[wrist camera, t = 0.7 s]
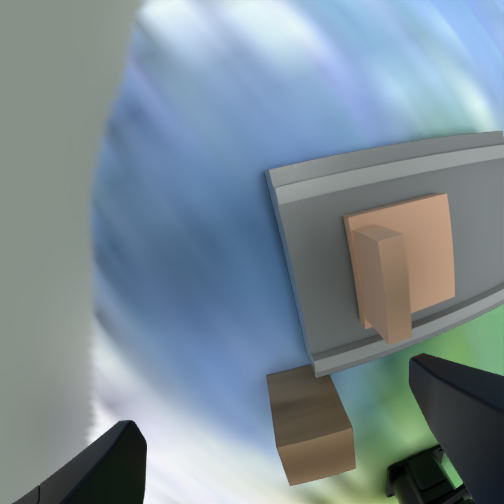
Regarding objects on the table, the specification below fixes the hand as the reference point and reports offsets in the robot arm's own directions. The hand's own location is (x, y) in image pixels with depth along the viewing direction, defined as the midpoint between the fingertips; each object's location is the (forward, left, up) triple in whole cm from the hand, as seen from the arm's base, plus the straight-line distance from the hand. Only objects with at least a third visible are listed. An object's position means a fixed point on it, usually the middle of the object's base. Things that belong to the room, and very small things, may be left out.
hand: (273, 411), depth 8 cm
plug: (-9, -1, -12) cm, 15 cm away
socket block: (0, -10, -12) cm, 16 cm away
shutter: (0, -8, -9) cm, 12 cm away
